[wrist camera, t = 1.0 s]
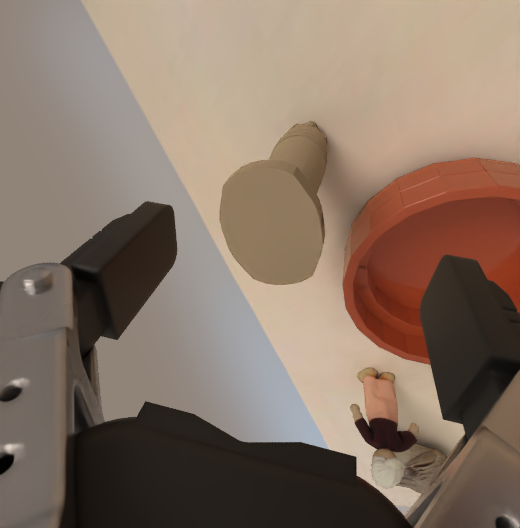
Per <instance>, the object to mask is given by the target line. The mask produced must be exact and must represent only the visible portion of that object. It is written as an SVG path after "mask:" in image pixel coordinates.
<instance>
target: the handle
mask: <svg viewBox="0 0 520 528" xmlns="http://www.w3.org/2000/svg"><path fill="white" fill-rule="evenodd" d="M326 163H327V138H326V135H325V134H323V133H322V132H320V131H319V129H318V128H317V126H316V123H315V122H312V121H309V122H308V123H307V124H303V125H299V124H296V125H294V126H293V127H292V128H291V129H290V130H289V131H288V132H287V133H286V134H285V135H284V136H283V137H282V138H281V139H280V140H279V142H278V143H277V145H276V146H275V148H274V149H273V151H272V153H271V156H270V158H269V160H260V161H256V162H253V163H249V164H247V165H245V166H243V167H241V168H240V169H238V170H237V171H236V172H235V173H234V174H233V175H232V176H231V177H230V178H229V179H228V180H227V181H226V183H225V184H224V185H223V190H222V197H221V204H220V223H221V227H222V231H223V234H224V237H225V239H226V242H227V245H228V248H229V250H230V252H231V254H232V255H233V257H234V258H235V259H236V261H237V262H238V263H239V264H240V265H241V266H242V267H243V269H244V270H245V271H246V272H247V273H248V274H249V275H250V276H251V277H252V278H253V279H255V280H258V281H260V282H263V283H267V284H274V285H287V284H294V283H298V282H302V281H304V280H306V279H308V278H309V277H311V276H312V275H313V274H314V271H315V269H316V266H317V264H318V261H319V259H320V256H321V252H322V248H323V243H324V237H325V227H324V218H323V211H322V207H321V203H320V200H319V198H318V196H317V192H318V189H319V187H320V184H321V181H322V179H323V176H324V173H325V169H326Z"/></svg>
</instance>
